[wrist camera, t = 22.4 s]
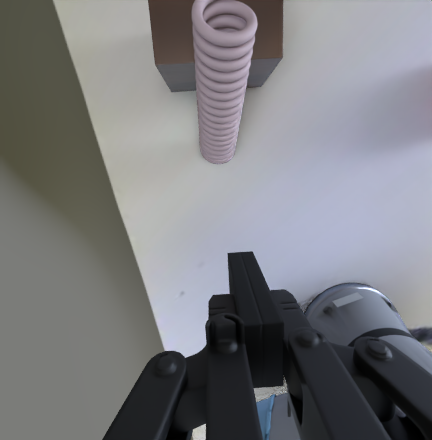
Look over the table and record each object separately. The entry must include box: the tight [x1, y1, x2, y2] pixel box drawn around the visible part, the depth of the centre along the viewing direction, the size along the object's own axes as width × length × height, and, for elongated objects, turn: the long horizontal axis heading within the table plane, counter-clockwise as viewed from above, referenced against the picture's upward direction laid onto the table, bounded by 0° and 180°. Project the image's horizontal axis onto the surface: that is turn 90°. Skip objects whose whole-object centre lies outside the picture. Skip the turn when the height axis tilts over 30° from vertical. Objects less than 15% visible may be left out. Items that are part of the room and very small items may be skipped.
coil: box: [192, 0, 258, 164], centre depth 25 cm, size 5×5×18 cm
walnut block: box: [148, 0, 283, 92], centre depth 27 cm, size 7×12×10 cm, turn 93°
